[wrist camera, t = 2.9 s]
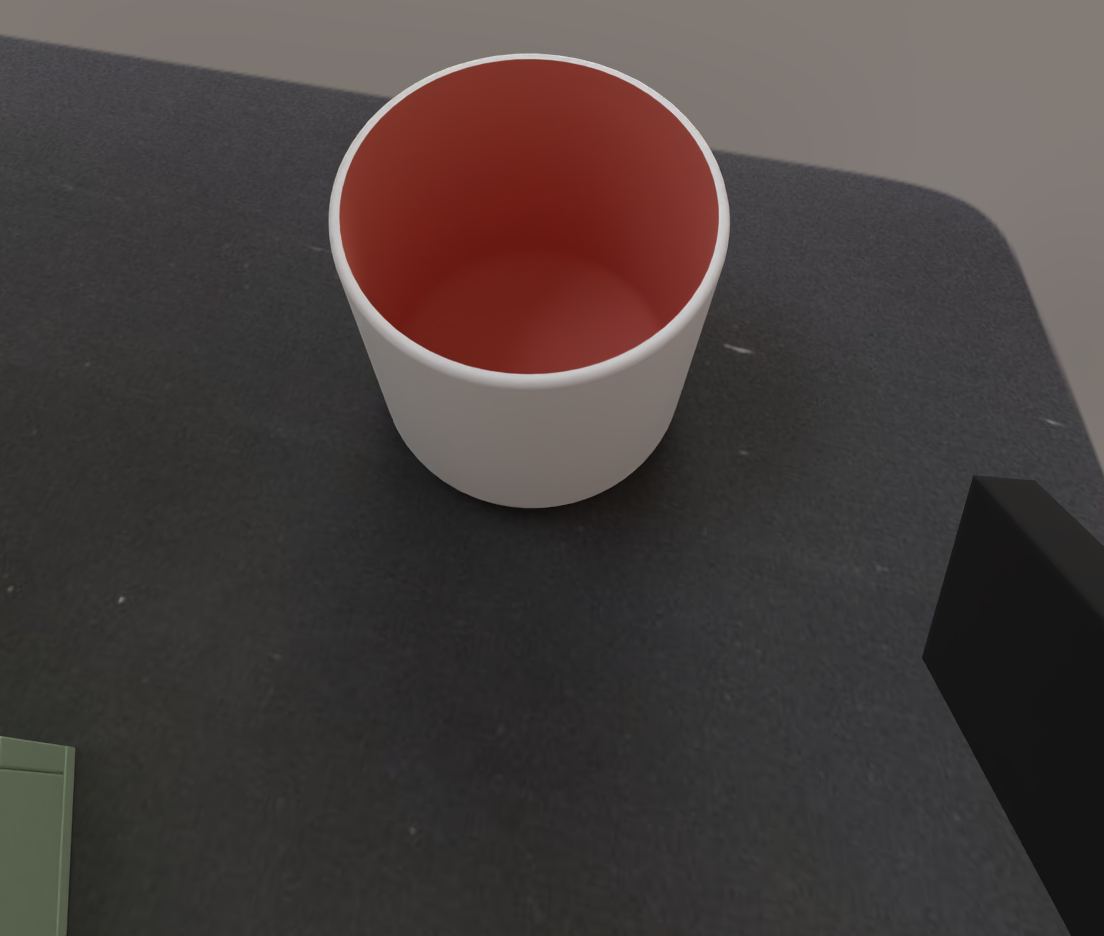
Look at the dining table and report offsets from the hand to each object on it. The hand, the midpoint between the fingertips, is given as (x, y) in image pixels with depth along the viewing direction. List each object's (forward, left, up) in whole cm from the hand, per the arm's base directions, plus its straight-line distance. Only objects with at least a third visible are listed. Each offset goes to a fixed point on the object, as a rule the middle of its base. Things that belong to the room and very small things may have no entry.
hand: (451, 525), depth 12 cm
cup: (-10, +2, -17) cm, 20 cm away
